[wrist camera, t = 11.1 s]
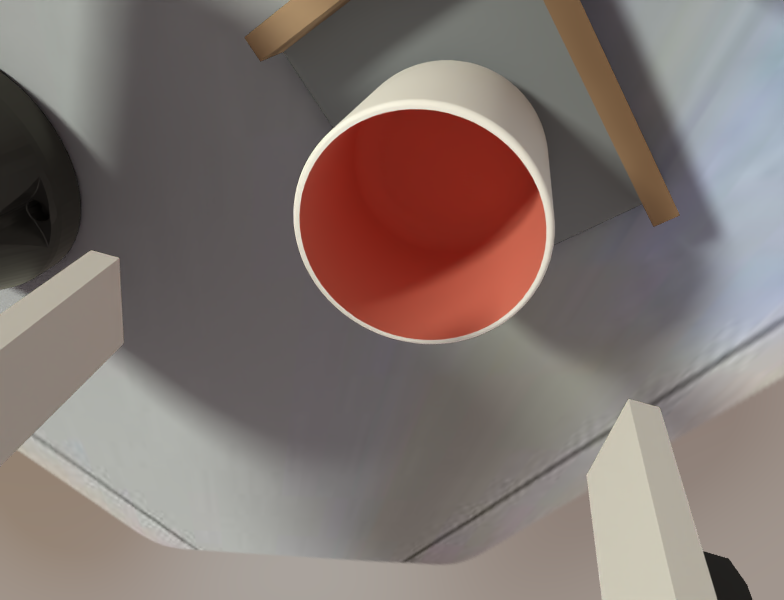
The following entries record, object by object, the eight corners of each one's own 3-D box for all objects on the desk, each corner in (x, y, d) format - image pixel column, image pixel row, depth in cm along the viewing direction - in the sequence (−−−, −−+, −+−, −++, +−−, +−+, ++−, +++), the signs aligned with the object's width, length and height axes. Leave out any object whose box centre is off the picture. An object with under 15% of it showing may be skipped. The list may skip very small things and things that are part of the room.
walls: (444, 296, 35) (437, 322, 33) (268, 29, 30) (244, 37, 27) (666, 192, 30) (679, 215, 27) (503, -158, 24) (501, -170, 22)
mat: (445, 289, 36) (444, 296, 35) (274, 28, 30) (268, 29, 30) (663, 187, 30) (666, 192, 30) (504, -155, 25) (503, -158, 24)
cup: (356, 237, 34) (300, 331, 26) (352, 51, 29) (281, 92, 21) (533, 254, 33) (535, 359, 24) (561, 60, 28) (576, 108, 19)
